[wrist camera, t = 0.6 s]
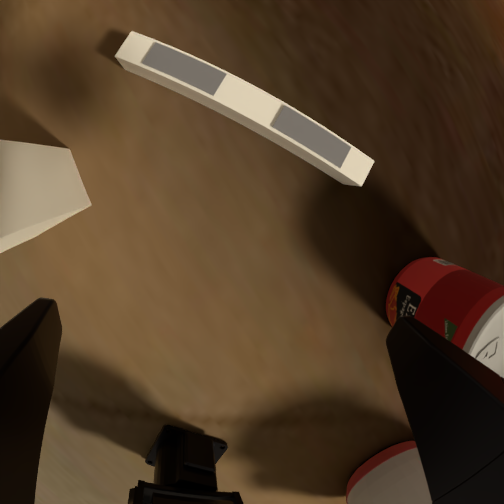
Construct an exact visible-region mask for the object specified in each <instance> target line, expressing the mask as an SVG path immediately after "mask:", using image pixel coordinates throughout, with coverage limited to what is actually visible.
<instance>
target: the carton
mask: <svg viewBox="0 0 504 504" xmlns="http://www.w3.org/2000/svg"><path fill="white" fill-rule="evenodd" d="M89 206H91V202H90V200H89V197H88V195H87V193H86V190H85V188H84V185H83V183H82V180H81V178H80V175H79V172H78V170H77V167H76V165H75V162H74V159H73V156H72V154H71V151H70V149H67V148H60V147H53V146H46V145H39V144H32V143H24V142H16V141H8V140H0V253H2V252H4V251H6V250H8V249H10V248H12V247H14V246H16V245H19V244H21V243H23V242H25V241H27V240H29V239H32V238H34V237H36V236H38V235H39V234H41V233H43V232H44V231H46V230H48V229H50V228H51V227H53V226H55V225H56V224H58V223H60V222H62V221H64V220H65V219H67V218H69V217H71V216H73V215H74V214H76V213H78V212H80V211H82V210H84V209H85V208H87V207H89Z"/></svg>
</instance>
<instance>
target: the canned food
mask: <svg viewBox="0 0 504 504" xmlns="http://www.w3.org/2000/svg"><path fill="white" fill-rule="evenodd" d="M386 313H387V317H388V319H389V322H390V324H391V326H392V327H393V325H394V323H395V322H396V320H397V319H398V318H399V317H401V316H412V317H414V318H415V319H417V320H419V321H420V322H422V323H423V324H425V325H426V326H428V327H429V328H431V329H432V330H434V331H435V332H437V333H438V334H440V335H441V336H443V337H444V338H446V339H447V340H449V341H450V342H452V343H453V344H455V345H456V346H458V347H459V348H461V349H462V350H464V351H465V352H467V353H468V354H470V355H471V356H472V357H474V358H475V359H477V360H478V361H480V362H481V363H483V364H484V365H486V366H487V367H489V368H490V369H491V370H493V371H494V372H496V373H497V374H499V375H500V377H503V378H504V286H503V285H501V284H499V283H496V282H494V281H492V280H490V279H487V278H485V277H483V276H481V275H478V274H476V273H474V272H471V271H469V270H467V269H464V268H462V267H460V266H457V265H455V264H453V263H450V262H448V261H445V260H443V259H440V258H437V257H424V258H420V259H417V260H415V261H412V262H411V263H409V264H408V265H406V266H405V267H404V268H403V269H402V270H401V271H400V272H399V274H398V275H397V276H396V277H395V279H394V281H393V282H392V284H391V286H390V289H389V291H388V295H387V299H386Z"/></svg>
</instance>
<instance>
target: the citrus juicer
mask: <svg viewBox="0 0 504 504" xmlns="http://www.w3.org/2000/svg"><path fill="white" fill-rule="evenodd" d="M346 501H347V504H432V501H431V497H430V493H429V489H428V485H427V481H426V478H425V474H424V470H423V467H422V463H421V460H420V456H419V453H418V450H417V446H416V443H415V441H407V442H403V443H399V444H396V445H394V446H391V447H389V448H387V449H385V450H383V451H381V452H380V453H378V454H376V455H375V456H373V457H372V458H370V459H369V460H368V461H366V462H365V463H364V464H363V465H361V466H360V467H359V468H357V470H356V471H355V472H354V474H353V475H352V476H351V478H350V480H349V481H348V485H347V493H346Z"/></svg>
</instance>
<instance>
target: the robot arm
mask: <svg viewBox="0 0 504 504" xmlns="http://www.w3.org/2000/svg"><path fill="white" fill-rule="evenodd" d="M61 335H62V325H61V320H60V316H59V312H58V307H57V303H56V301H55V300H54V299H49V298H38V299H37V300H35V301H34V302H33V303H31V304H30V305H29V306H27V307H26V308H25V309H24V310H22V311H21V312H20V313H18V314H17V315H16V316H15V317H13V318H12V319H11V320H10V321H8V322H7V323H6V324H5V325H3V326H2V327H1V328H0V504H34V501H35V490H36V481H37V473H38V466H39V459H40V452H41V446H42V440H43V435H44V429H45V424H46V419H47V415H48V410H49V405H50V401H51V396H52V392H53V386H54V379H55V372H56V365H57V358H58V352H59V346H60V341H61ZM386 345H387V349H388V353H389V357H390V360H391V364H392V368H393V372H394V376H395V380H396V384H397V388H398V391H399V394H400V397H401V400H402V403H403V406H404V409H405V412H406V415H407V418H408V421H409V424H410V427H411V430H412V433H413V436H414V440H415V443H416V446H417V450H418V453H419V456H420V460H421V463H422V467H423V470H424V474H425V478H426V481H427V485H428V489H429V493H430V497H431V501H432V504H504V378H503V377H500V375H499V374H497V373H496V372H494V371H493V370H491V369H490V368H489V367H487V366H486V365H484V364H483V363H481V362H480V361H478V360H477V359H475V358H474V357H472V356H471V355H470V354H468V353H467V352H465V351H464V350H462V349H461V348H459V347H458V346H456V345H455V344H453V343H452V342H450V341H449V340H447V339H446V338H444V337H443V336H441V335H440V334H438V333H437V332H435V331H434V330H432V329H431V328H429V327H428V326H426V325H425V324H423V323H422V322H420V321H419V320H417V319H415V318H414V317H412V316H401V317H399V318H398V319H397V320H396V322H395V323H394V325H393V327H392V329H391V330H390V332H389V334H388V336H387V338H386ZM227 448H228V446H227V443H226V442H223V441H220V440H216V439H212V438H209V437H205V436H202V435H199V434H195V433H192V432H189V431H186V430H183V429H180V428H177V427H174V426H171V425H165V426H163V428H162V430H161V432H160V433H159V435H158V437H157V439H156V441H155V442H154V444H153V446H152V448H151V450H150V451H149V453H148V455H147V457H146V460H145V462H146V463H147V464H148V465H151V466H154V467H155V472H154V484H153V483H147V482H145V481H142V480H138V487H137V486H135V488H132V489H130V491H129V499H128V504H243V501H242V499H241V496H240V494H239V492H218V488H217V479H216V467H215V464H216V463H217V461H218V460H219V459H220V457H221V456H222V455H223V454H224V452H225V451H226V450H227Z"/></svg>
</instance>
